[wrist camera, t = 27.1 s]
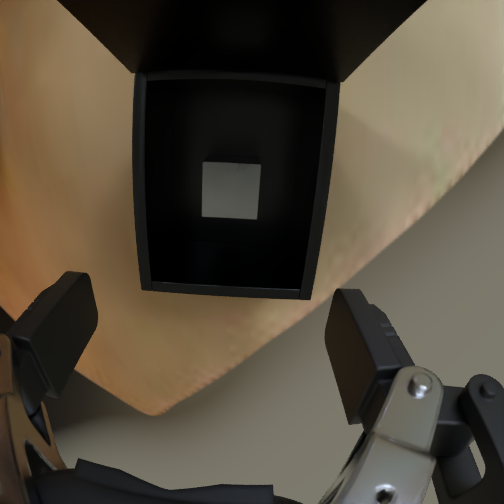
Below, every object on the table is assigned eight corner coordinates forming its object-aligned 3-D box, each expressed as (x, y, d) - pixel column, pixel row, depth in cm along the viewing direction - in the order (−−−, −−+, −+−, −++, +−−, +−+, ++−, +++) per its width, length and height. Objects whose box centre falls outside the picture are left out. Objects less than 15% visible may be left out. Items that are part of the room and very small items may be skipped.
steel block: (207, 202, 27) (200, 217, 23) (209, 154, 26) (201, 161, 22) (256, 204, 28) (257, 220, 24) (259, 156, 26) (261, 164, 22)
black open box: (294, 251, 31) (310, 300, 23) (167, 243, 30) (141, 290, 22) (312, 89, 24) (340, 77, 16) (168, 82, 24) (134, 68, 15)
